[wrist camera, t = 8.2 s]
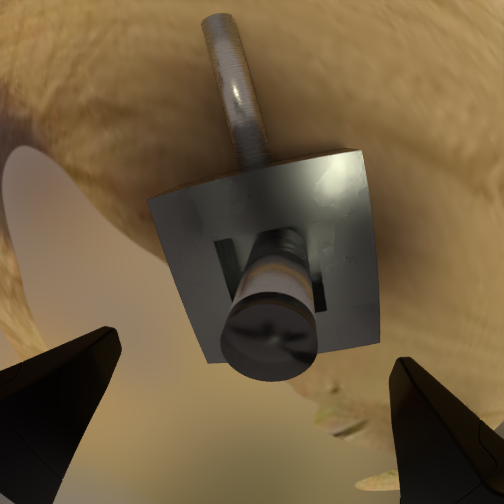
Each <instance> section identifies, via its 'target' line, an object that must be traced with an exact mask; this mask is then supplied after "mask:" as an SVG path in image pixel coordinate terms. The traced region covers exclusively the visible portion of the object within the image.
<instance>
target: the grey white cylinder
mask: <svg viewBox="0 0 504 504" xmlns="http://www.w3.org/2000/svg"><path fill="white" fill-rule="evenodd" d="M220 346H221V351H222V354H223V356H224V358H225V359H226V361H227V362H228V363H229V365H230V366H231V367H233V368H234V369H235V370H236V371H238V372H239V373H241V374H243V375H244V376H247V377H249V378H252V379H255V380H260V381H267V382H269V381H270V382H274V381H284V380H288V379H291V378H294V377H296V376H298V375H300V374H302V373H303V372H305V371H306V370H307V369H308V368H309V367H310V366H311V365H312V363H313V362H314V360H315V358H316V356H317V352H318V340H317V329H316V319H315V309H314V299H313V290H312V281H311V273H310V265H309V257H308V249H307V246H306V244H305V242H304V240H303V239H302V238H301V237H300V236H299V235H298V234H297V233H296V232H294V231H292V230H289V229H286V228H278V229H273V230H268V231H265V232H263V233H262V234H260V235H259V236H258V237H257V239H256V240H255V242H254V244H253V246H252V249H251V252H250V255H249V258H248V260H247V263H246V266H245V269H244V272H243V275H242V277H241V280H240V283H239V286H238V289H237V292H236V294H235V297H234V300H233V303H232V306H231V309H230V311H229V314H228V317H227V320H226V323H225V326H224V328H223V331H222V334H221V339H220Z"/></svg>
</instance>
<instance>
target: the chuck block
mask: <svg viewBox="0 0 504 504" xmlns="http://www.w3.org/2000/svg"><path fill="white" fill-rule="evenodd" d="M201 27H202V30H203V34H204V38H205V41H206V45H207V49H208V52H209V56H210V60H211V64H212V67H213V71H214V75H215V79H216V82H217V86H218V90H219V94H220V97H221V101H222V105H223V109H224V113H225V116H226V120H227V124H228V128H229V132H230V135H231V139H232V143H233V147H234V151H235V155H236V159H237V162H238V166H239V170H237V171H233V172H229V173H225V174H221V175H217V176H213V177H210V178H206V179H202V180H198V181H195V182H191V183H188V184H184V185H181V186H178V187H175V188H173V189H170V190H168V191H166V192H163V193H161V194H159V195H157V196H154V197H152V198H150V199H148V200H147V201H148V205H149V208H150V211H151V214H152V218H153V221H154V224H155V227H156V230H157V233H158V236H159V239H160V242H161V245H162V248H163V251H164V254H165V257H166V259H167V262H168V265H169V268H170V271H171V273H172V276H173V279H174V282H175V284H176V287H177V289H178V292H179V295H180V297H181V300H182V303H183V305H184V308H185V310H186V313H187V315H188V318H189V320H190V323H191V325H192V327H193V330H194V333H195V335H196V337H197V340H198V342H199V344H200V347H201V349H202V351H203V353H204V356H205V358H206V360H207V363H208V364H209V363H228V362H227V361H226V359H225V358H224V356H223V354H222V351H221V346H220V339H221V334H222V331H223V328H224V326H225V323H226V320H227V317H228V314H229V311H230V309H231V306H232V303H233V300H234V297H235V294H236V292H237V289H238V286H239V283H240V280H241V277H242V275H243V272H244V269H245V266H246V263H247V260H248V258H249V255H250V252H251V249H252V246H253V244H254V242H255V240H256V239H257V237H258V236H259V235H260V234H262V233H263V232H265V231H268V230H273V229H278V228H286V229H289V230H292V231H294V232H296V233H297V234H298V235H299V236H300V237H301V238H302V239H303V240H304V242H305V244H306V246H307V249H308V257H309V265H310V273H311V281H312V290H313V299H314V309H315V319H316V329H317V340H318V352H317V354H318V353H325V352H331V351H337V350H343V349H349V348H355V347H360V346H366V345H371V344H376V343H380V303H379V282H378V267H377V255H376V244H375V235H374V226H373V218H372V210H371V203H370V196H369V189H368V183H367V177H366V171H365V166H364V160H363V155H362V150H356V149H349V148H344V149H338V150H332V151H326V152H321V153H315V154H310V155H305V156H300V157H295V158H290V159H285V160H280V161H276V162H273V161H272V157H271V153H270V149H269V145H268V141H267V137H266V133H265V129H264V126H263V122H262V118H261V114H260V110H259V107H258V103H257V99H256V95H255V92H254V88H253V84H252V81H251V77H250V74H249V70H248V67H247V63H246V60H245V56H244V53H243V49H242V46H241V43H240V39H239V36H238V33H237V29H236V26H235V23H234V20H233V17H232V15H230V14H227V13H220V14H214V15H211V16H209V17H207V18H205V19H204V20H203V21H202V22H201Z"/></svg>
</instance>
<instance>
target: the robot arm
mask: <svg viewBox="0 0 504 504" xmlns="http://www.w3.org/2000/svg"><path fill="white" fill-rule="evenodd" d="M121 351H122V347H121V343H120V340H119V337H118V333H117V330H116V329H115V328H112V327H108V326H104V327H101V328H99V329H97V330H94V331H92V332H90V333H88V334H85V335H83V336H81V337H78V338H76V339H74V340H72V341H69V342H67V343H65V344H62V345H60V346H58V347H55V348H53V349H51V350H49V351H46V352H44V353H42V354H39V355H37V356H35V357H32V358H30V359H28V360H25V361H23V362H21V363H18V364H16V365H14V366H11V367H9V368H6V369H4V370H2V371H0V504H53V501H54V499H55V497H56V494H57V492H58V489H59V487H60V485H61V483H62V479H63V478H64V476H65V473H66V471H67V468H68V467H69V464H70V462H71V460H72V458H73V456H74V453H75V451H76V449H77V447H78V445H79V443H80V441H81V439H82V437H83V435H84V433H85V430H86V428H87V426H88V424H89V422H90V420H91V418H92V416H93V414H94V412H95V410H96V409H97V406H98V405H99V403H100V400H101V399H102V397H103V395H104V393H105V391H106V389H107V387H108V384H109V382H110V380H111V377H112V374H113V372H114V369H115V367H116V365H117V362H118V360H119V357H120V355H121ZM389 391H390V406H391V423H392V430H393V437H394V443H395V450H396V458H397V466H398V474H399V484H400V495H401V498H400V504H504V439H503V438H502V437H500V436H499V435H498V434H497V433H495V432H494V431H493V430H492V429H491V428H490V427H489V426H488V425H486V424H485V423H484V422H483V421H482V420H480V418H479V417H478V416H477V415H475V414H474V413H473V412H472V411H471V410H470V409H469V408H468V407H467V406H465V405H464V404H463V403H462V402H461V401H460V400H459V399H458V398H457V397H455V396H454V395H453V394H452V393H451V392H450V391H449V390H448V389H446V388H445V387H444V386H443V385H442V384H441V383H440V382H438V381H437V380H436V379H435V378H434V377H433V376H432V375H430V374H429V373H428V372H427V371H426V370H425V369H424V368H422V367H421V366H420V365H419V364H418V363H417V362H416V361H414V360H413V359H412V358H411V357H399V358H397V360H396V362H395V364H394V367H393V369H392V372H391V374H390V377H389Z"/></svg>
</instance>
